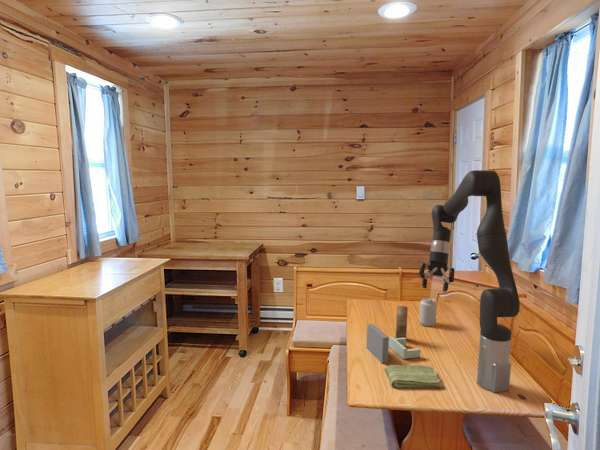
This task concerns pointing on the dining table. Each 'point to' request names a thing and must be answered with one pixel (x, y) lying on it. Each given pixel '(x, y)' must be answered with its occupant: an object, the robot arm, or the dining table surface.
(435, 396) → the dining table surface
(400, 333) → the dowel
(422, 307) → the can
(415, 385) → the washcloth
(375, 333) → the wall
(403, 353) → the bracket
